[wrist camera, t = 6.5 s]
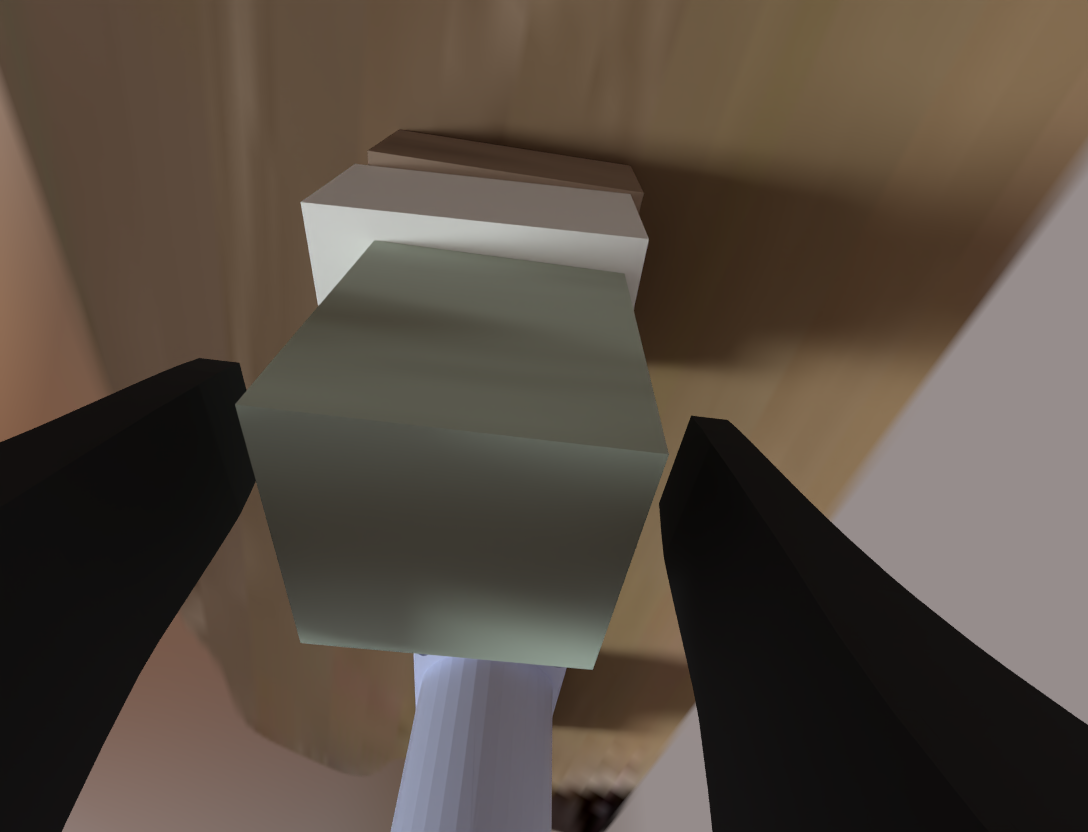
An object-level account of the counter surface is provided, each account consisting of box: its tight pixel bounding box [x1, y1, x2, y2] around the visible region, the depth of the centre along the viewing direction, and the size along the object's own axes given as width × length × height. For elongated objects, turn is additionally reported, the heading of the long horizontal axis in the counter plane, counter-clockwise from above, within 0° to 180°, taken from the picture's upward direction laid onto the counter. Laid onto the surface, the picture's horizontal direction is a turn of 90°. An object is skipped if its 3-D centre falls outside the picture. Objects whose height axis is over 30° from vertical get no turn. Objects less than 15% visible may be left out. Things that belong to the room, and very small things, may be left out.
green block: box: [235, 240, 669, 670], centre depth 9 cm, size 4×4×5 cm
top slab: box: [301, 164, 649, 310], centre depth 12 cm, size 6×6×3 cm
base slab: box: [368, 130, 644, 214], centre depth 14 cm, size 6×6×3 cm
